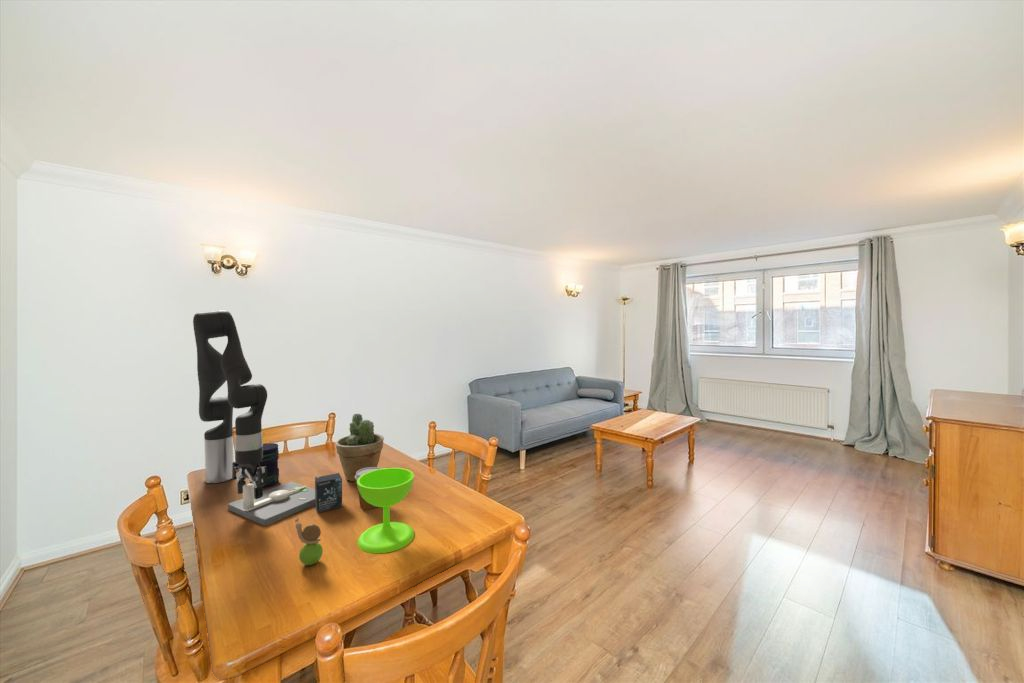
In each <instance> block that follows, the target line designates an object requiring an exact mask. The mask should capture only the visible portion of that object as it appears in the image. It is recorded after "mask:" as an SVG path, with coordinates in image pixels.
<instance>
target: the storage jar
mask: <svg viewBox="0 0 1024 683" xmlns="http://www.w3.org/2000/svg"><path fill="white" fill-rule="evenodd" d="M279 454H280V452H279V444H278V443H274V442H269V443H263V458H262V460H260V462H259V464H260V467H264V466H266V467H267V477H268V484H266V485H264V486H263V490H267V489H271V488H274V487H276V486H278V485H279V483H280V480H279V479H280V468H279V464H278V463H279V458H280V456H279ZM256 477H257V476H256ZM254 478H255V477H254ZM248 481H249V484H250V483H252V482H250V480H249V479H248ZM263 481H264V478H263ZM256 482H257V483H258V480H256ZM252 484H253V483H252ZM254 488H255V487H254Z"/></svg>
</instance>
